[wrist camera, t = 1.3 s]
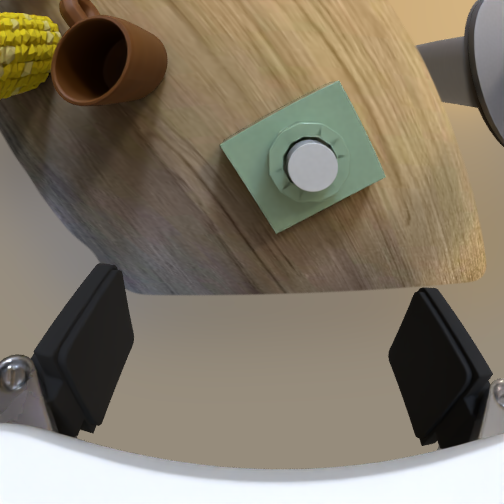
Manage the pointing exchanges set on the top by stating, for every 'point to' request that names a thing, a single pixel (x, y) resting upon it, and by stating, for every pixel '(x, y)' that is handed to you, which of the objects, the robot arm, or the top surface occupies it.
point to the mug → (104, 58)
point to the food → (25, 51)
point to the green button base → (285, 137)
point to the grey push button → (311, 165)
